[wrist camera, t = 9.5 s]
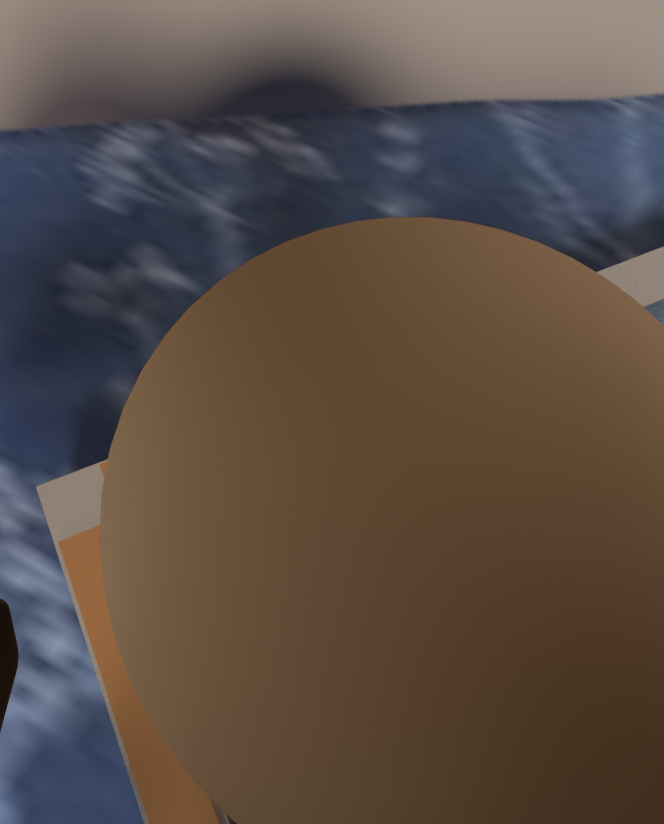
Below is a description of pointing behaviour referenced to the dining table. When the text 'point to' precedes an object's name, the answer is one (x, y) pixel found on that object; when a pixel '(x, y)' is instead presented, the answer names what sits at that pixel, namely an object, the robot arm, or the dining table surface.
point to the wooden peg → (400, 534)
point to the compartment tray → (81, 562)
